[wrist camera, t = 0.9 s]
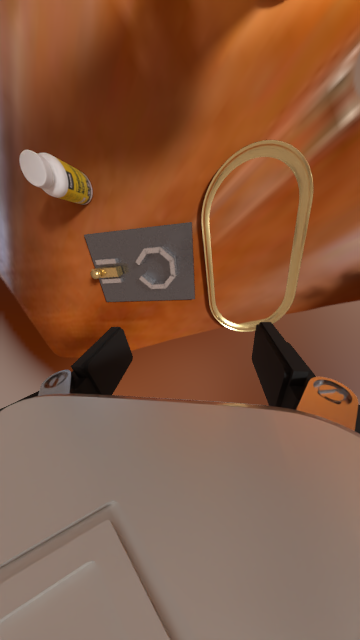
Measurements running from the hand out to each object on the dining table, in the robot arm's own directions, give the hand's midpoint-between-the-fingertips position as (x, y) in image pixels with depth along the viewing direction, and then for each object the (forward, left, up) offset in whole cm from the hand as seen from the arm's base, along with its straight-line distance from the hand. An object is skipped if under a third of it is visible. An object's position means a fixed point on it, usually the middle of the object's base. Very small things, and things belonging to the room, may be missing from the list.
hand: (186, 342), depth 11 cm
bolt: (-1, -21, -26) cm, 34 cm away
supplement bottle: (-17, -23, -28) cm, 40 cm away
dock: (-1, -13, -27) cm, 30 cm away
